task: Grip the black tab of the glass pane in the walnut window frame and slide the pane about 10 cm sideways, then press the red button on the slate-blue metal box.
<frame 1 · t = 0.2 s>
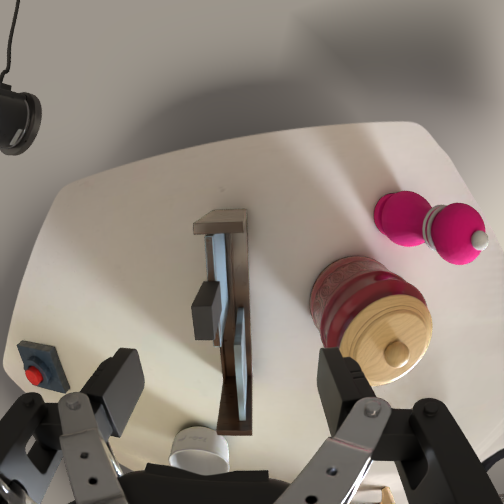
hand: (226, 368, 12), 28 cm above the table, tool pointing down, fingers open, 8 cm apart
button: (34, 375, 41), point 4 cm above the table, slide at 0.1 cm
window pane: (215, 287, 30), point 10 cm above the table, slide at 0.0 cm
pepper mill: (392, 214, 39), on the table
teacup: (197, 438, 49), on the table
button box: (45, 364, 45), on the table
planter: (363, 501, 57), on the table
kitchen canister: (350, 296, 42), on the table
window frame: (234, 302, 42), on the table
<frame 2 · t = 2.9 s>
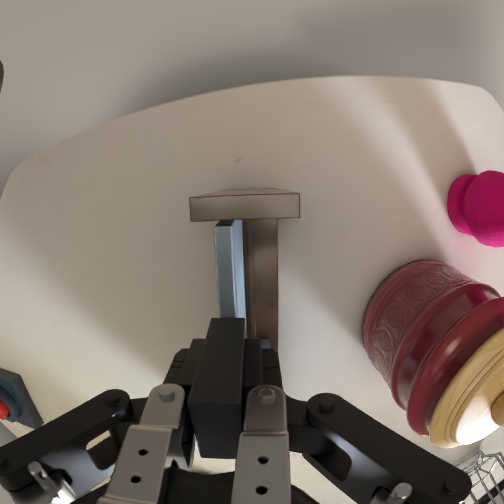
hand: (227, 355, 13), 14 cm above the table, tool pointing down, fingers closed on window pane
window pane: (233, 322, 16), point 10 cm above the table, slide at 0.0 cm, touching gripper
pepper mill: (466, 203, 25), on the table
geometric lantern: (464, 465, 36), on the table
button box: (13, 393, 31), on the table
kitchen canister: (413, 315, 28), on the table
window frame: (253, 329, 28), on the table
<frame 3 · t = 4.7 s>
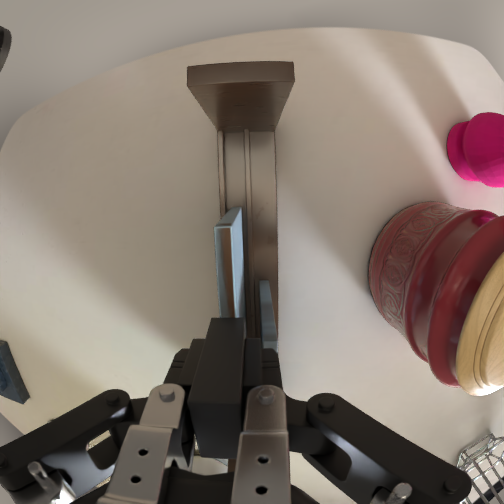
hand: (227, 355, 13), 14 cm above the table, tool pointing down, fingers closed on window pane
window pane: (233, 321, 16), point 10 cm above the table, slide at 5.7 cm, touching gripper
pepper mill: (465, 151, 24), on the table
geometric lantern: (474, 449, 35), on the table
teacup: (196, 469, 33), on the table
button box: (0, 365, 30), on the table
kitchen canister: (420, 264, 26), on the table
window frame: (251, 273, 26), on the table
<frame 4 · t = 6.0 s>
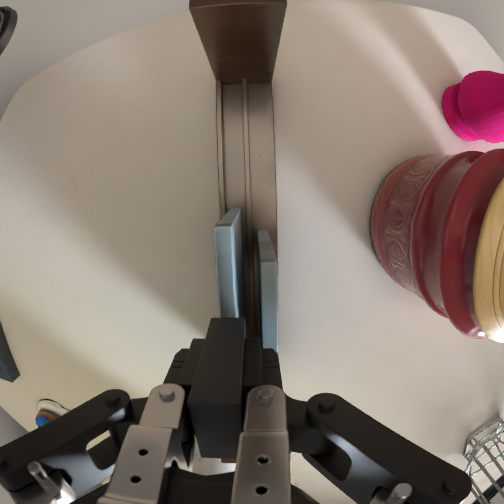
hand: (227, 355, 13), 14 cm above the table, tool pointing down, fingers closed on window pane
window pane: (233, 322, 16), point 10 cm above the table, slide at 9.9 cm, touching gripper
pepper mill: (461, 113, 23), on the table
geometric lantern: (482, 436, 34), on the table
teacup: (191, 453, 32), on the table
kitchen canister: (423, 222, 25), on the table
window frame: (249, 224, 25), on the table
dessert: (59, 416, 32), on the table
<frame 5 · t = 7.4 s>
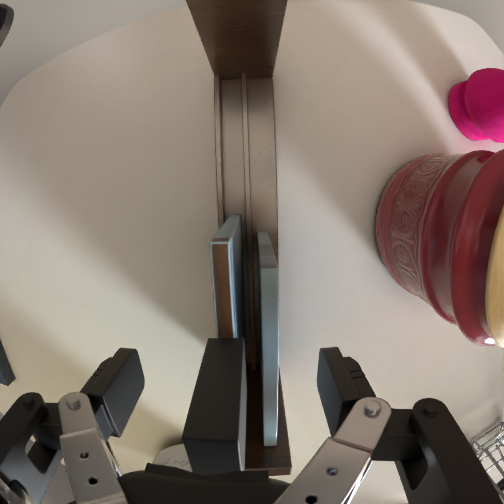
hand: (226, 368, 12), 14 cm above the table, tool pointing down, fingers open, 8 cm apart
window pane: (231, 338, 15), point 10 cm above the table, slide at 10.4 cm
pepper mill: (468, 111, 21), on the table
geometric lantern: (484, 440, 33), on the table
teacup: (189, 459, 31), on the table
kitchen canister: (429, 224, 24), on the table
window frame: (249, 226, 24), on the table
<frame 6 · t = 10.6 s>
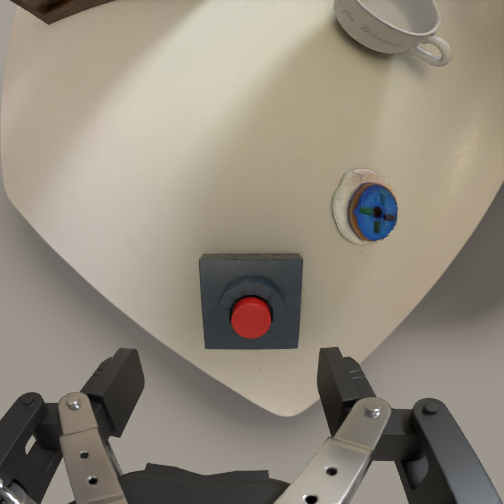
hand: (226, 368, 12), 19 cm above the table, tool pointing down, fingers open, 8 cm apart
button: (251, 317, 27), point 4 cm above the table, slide at 0.1 cm
teacup: (378, 35, 25), on the table
button box: (251, 299, 32), on the table
dessert: (364, 206, 29), on the table
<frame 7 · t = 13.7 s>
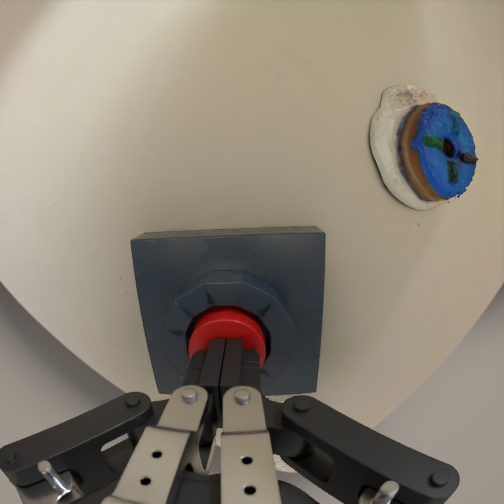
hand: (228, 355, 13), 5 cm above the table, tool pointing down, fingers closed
button: (227, 344, 14), point 4 cm above the table, slide at -0.4 cm, touching gripper
button box: (232, 311, 18), on the table
dessert: (418, 146, 16), on the table
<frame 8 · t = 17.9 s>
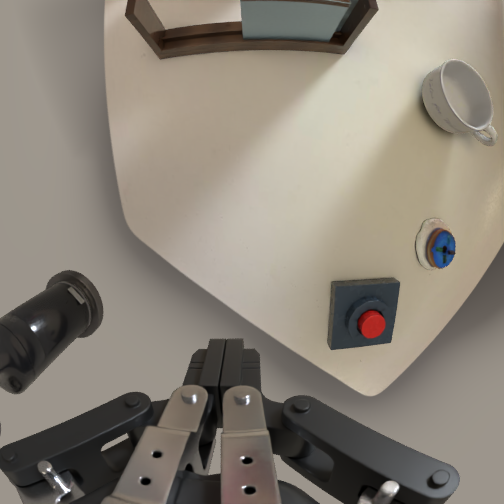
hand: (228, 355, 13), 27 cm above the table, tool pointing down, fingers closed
button: (371, 324, 37), point 4 cm above the table, slide at 0.1 cm
window pane: (294, 6, 23), point 10 cm above the table, slide at 10.4 cm
teacup: (445, 112, 35), on the table
button box: (361, 311, 42), on the table
window frame: (252, 37, 33), on the table
dessert: (433, 243, 39), on the table
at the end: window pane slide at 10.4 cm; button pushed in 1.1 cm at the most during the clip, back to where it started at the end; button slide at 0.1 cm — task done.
